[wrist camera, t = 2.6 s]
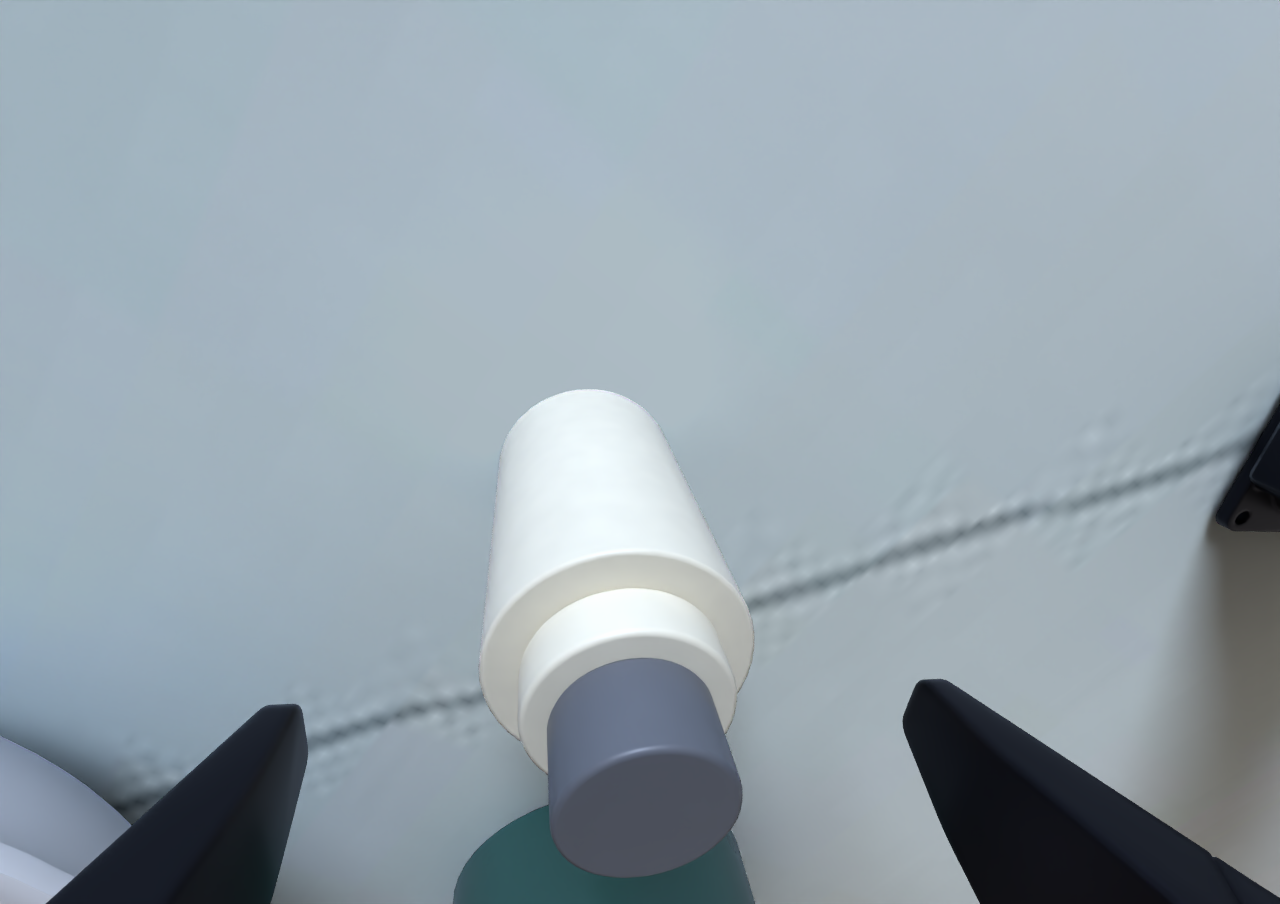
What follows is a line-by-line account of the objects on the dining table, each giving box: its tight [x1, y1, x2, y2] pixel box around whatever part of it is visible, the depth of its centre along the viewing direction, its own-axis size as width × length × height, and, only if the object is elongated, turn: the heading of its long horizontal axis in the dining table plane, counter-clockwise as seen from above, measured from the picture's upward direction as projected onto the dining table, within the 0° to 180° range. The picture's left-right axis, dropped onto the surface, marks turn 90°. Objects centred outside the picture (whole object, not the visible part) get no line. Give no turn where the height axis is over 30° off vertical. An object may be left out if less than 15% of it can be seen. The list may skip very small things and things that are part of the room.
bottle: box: [479, 389, 754, 878], centre depth 12 cm, size 4×4×10 cm
